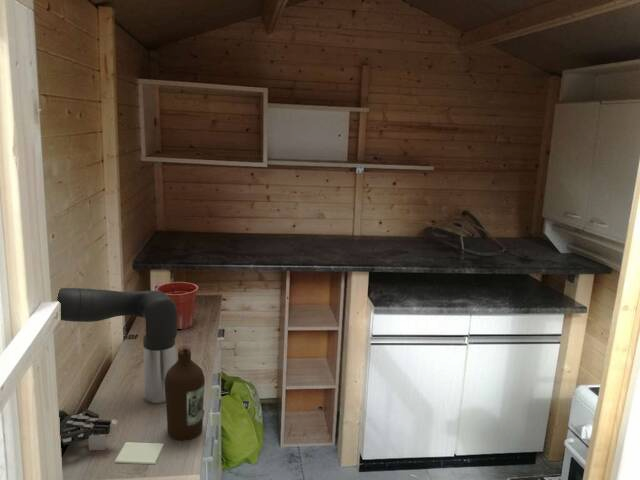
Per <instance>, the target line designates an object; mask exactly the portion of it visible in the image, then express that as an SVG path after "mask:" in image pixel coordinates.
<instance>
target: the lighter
mask: <svg viewBox="0 0 640 480" xmlns="http://www.w3.org/2000/svg"><path fill="white" fill-rule="evenodd" d="M110 421H111V424H110V432H109V434H104V435H103V434H94V435H92V436H89V439H87V440H88V441H87V442H88V450H89V451H106V449H107V447H108V444H107V443H108V440H107V437H111V435H112V433H113V430H114V429H115V427H116V425H117V423H118V420H117V419H114V418H112V420H110Z"/></svg>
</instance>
